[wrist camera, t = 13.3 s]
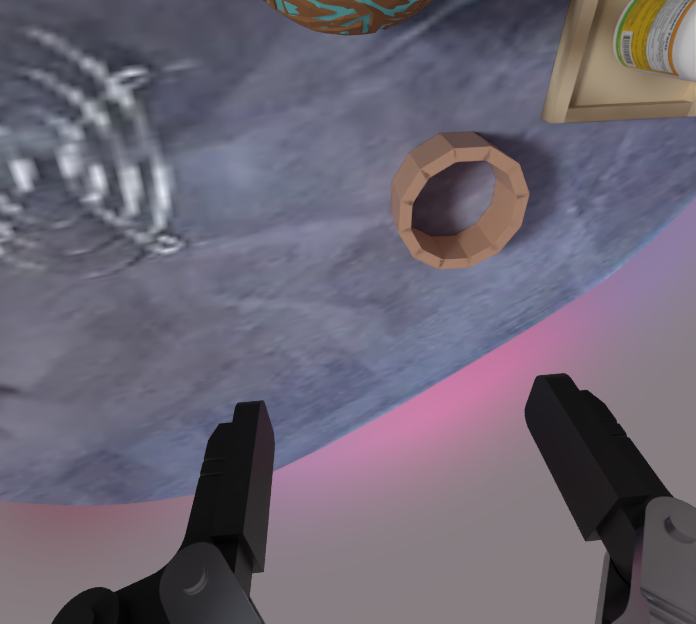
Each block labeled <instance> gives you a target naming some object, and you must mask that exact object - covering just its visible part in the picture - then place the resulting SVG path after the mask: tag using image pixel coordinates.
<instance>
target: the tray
mask: <svg viewBox="0 0 696 624" xmlns="http://www.w3.org/2000/svg"><path fill="white" fill-rule="evenodd" d="M630 1H631V0H570V4H569V8H568V12H567V16H566V20H565V24H564V28H563V32H562V36H561V40H560V44H559V48H558V52H557V56H556V60H555V64H554V68H553V72H552V76H551V81H550V85H549V89H548V93H547V97H546V101H545V105H544V109H543V113H542V117H541V119H543V120H545V121H547V122H550V123H569V122H589V121H608V120H628V119H648V118H667V117H687V116H696V82H693V81H687V80H682V79H677V78H671V77H666V76H661V75H655V74H650V73H644V72H639V71H634V70H630V69H627V68H625V67H623V66H622V65H621V64H620V63H619V62H618V61H617V59H616V57H615V55H614V51H613V37H614V31H615V28H616V25H617V22H618V20H619V18H620V16H621V14H622V12H623V10H624V9H625V7H626V6H627V5H628V3H629V2H630Z"/></svg>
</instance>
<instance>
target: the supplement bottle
mask: <svg viewBox="0 0 696 624" xmlns="http://www.w3.org/2000/svg"><path fill="white" fill-rule="evenodd" d="M613 51H614V55H615V57H616V59H617V61H618V62H619V63H620V64H621V65H622V66H623V67H625V68H627V69H630V70H634V71H639V72H644V73H650V74H655V75H661V76H666V77H671V78H677V79H682V80H687V81H693V82H696V0H631V1H630V2H629V3H628V5H627V6H626V7H625V9H624V10H623V12H622V14H621V16H620V18H619V20H618V22H617V25H616V28H615V31H614V37H613Z"/></svg>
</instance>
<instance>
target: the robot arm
mask: <svg viewBox="0 0 696 624" xmlns="http://www.w3.org/2000/svg"><path fill="white" fill-rule="evenodd" d="M525 419H526V423H527V426H528V428H529V431H530V433H531V434H532V436H533V439H534V441H535V443H536V444H537V446H538V448H539V450H540V452H541V454H542V456H543V458H544V460H545V462H546V464H547V466H548V468H549V470H550V472H551V474H552V476H553V478H554V480H555V482H556V484H557V486H558V488H559V490H560V492H561V494H562V496H563V498H564V500H565V502H566V504H567V506H568V508H569V510H570V512H571V514H572V516H573V518H574V520H575V522H576V524H577V526H578V527H579V530H580V532H581V534H582V536H583V538H584V540H585V541H595V540H602V542H603V544H604V546H605V547H606V549H607V551H606V553H605V556H604V562H603V569H602V576H601V584H600V590H599V597H598V605H597V612H596V619H595V624H696V508H695V507H693V506H692V505H690V504H688V503H686V502H684V501H682V500H679V499H676V498H674V497H673V496H672V495H671V494H670V492H669V491H668V490H667V489H666V488H665V486H664V485H663V483H662V482H661V481H660V479H659V478H658V476H657V475H656V474H655V472H654V471H653V470H652V468H651V467H650V465H649V464H648V463H647V461H646V460H645V458H644V457H643V456H642V454H641V453H640V452H639V450H638V449H637V448H636V446H635V445H634V443H633V442H632V441H631V439H630V438H628V437H627V435H626V432H625V431H624V430H623V428H622V427H621V425H620V424H618V423H617V420H616V419H615V417H614V416H613V414H612V413H611V412H610V410H609V409H608V408H607V406H606V405H605V404H604V403H603V402H602V401H601V400H599V399H598V398H597V397H596V396H594V395H593V394H592V393H590V392H589V391H588V390H581V391H580V390H579V389H578V388H577V386H576V385H575V383H574V382H573V380H572V379H571V378H570V377H569V375H567V374H565V373H561V374H549V375H539V376H537V377H536V378H535V381H534V383H533V386H532V389H531V392H530V395H529V398H528V400H527V403H526V406H525ZM274 451H275V441H274V432H273V428H272V425H271V422H270V418H269V415H268V412H267V409H266V405H265V402H264V401H263V400H262V401H251V402H240V403H237V404H236V407H235V411H234V416H233V421H232V422H231V423H221V424H219V425H218V426H217V428H216V429H215V431H214V432H213V434H212V435H211V437H210V438H209V440H208V443H207V447H206V452H205V456H204V462H203V464H202V468H201V472H200V478H199V480H198V485H197V489H196V493H195V497H194V501H193V505H192V509H191V514H190V518H189V522H188V526H187V530H186V534H185V537H184V540H183V542H182V545H181V547H180V548H179V550H178V552H177V553H176V554H175V556H174V557H173V558H172V559H171V560H170V561H169V563H168V564H166V565H165V566H164V567H163V568H162V569H160V570H159V571H158V572H156V573H154V574H152V575H150V576H148V577H146V578H144V579H142V580H140V581H138V582H135V583H133V584H131V585H129V586H127V587H124V588H122V589H121V590H118V591H116V592H112V591H111V590H110V589H107V588H103V587H95V588H91V589H88V590H86V591H83V592H82V593H80V594H78V595H77V596H75V597H74V598H73V599H71V600H70V601H69V602H68V603H67V604H66V605H65V606H64V607H63V608H62V609H61V610H60V612H59V613H58V614H57V616H56V617H55V618H54V620H53V622H52V624H265V622H264V620H263V618H262V617H261V615H260V613H259V611H258V610H257V608H256V606H255V604H254V603H253V601H252V599H251V597H250V588H251V579H252V573H260V572H264V563H265V553H266V542H267V530H268V519H269V506H270V496H271V485H272V474H273V462H274Z"/></svg>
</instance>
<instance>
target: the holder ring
mask: <svg viewBox="0 0 696 624" xmlns="http://www.w3.org/2000/svg"><path fill="white" fill-rule="evenodd" d="M483 160H486V161H488V162H489V163H491V165H492V168H493V171H494V173H495V176H496V184H495V189H494V194H493V199H492V203H491V205H490V206H489V207H488V209H487V210H486V211H485V212H484V214H483V215H482V216H481V218H480V219H479V220H478V222H477V223H476V224H474V225H472V226H470V227H468V228H467V229H465V230H463V231H461V232H459V233H458V234H456V235H449V236H430V235H428V234H426V233H424V232H422V231H420V230H418V229H416V228H414V227H412V225H411V219H412V205H413V202H414V201H415V199H416V198H417V196H418V194H419V193H420V191H421V190H422V188H423V187H424V185H425V184H426V182H427V181H428V179H429V178H430V177H432V176H434V175H435V174H437V173H439V172H440V171H442V170H444V169H445V168H447V167H449V166H450V165H452V164H453V163H455V162H464V161H483ZM528 198H529V191H528V188H527V185H526V182H525V179H524V176H523V173H522V170H521V167H520V164H519V163H518V162H516V161H515V160H514V159H512V158H511V157H510V156H508V155H507V154H506V153H505V152H503V151H502V150H501V149H499V148H498V147H496V146H495V145H493V144H492V143H490V142H489V141H487V140H485V139H484V138H482V137H481V136H479V135H478V134H476V133H474V132H454V133H439V134H438V135H436V136H434V137H433V138H431V139H430V140H428V141H427V142H425V143H423V144H422V145H420V146H419V147H417V148H415V149H414V150H412V151H411V152H409V154H408V156H407V157H406V159H405V161H404V162H403V164H402V166H401V167H400V169H399V171H398V172H397V174H396V176H395V177H394V179H393V181H392V196H391V213H392V216H393V218H394V221H395V224H396V227H397V230H398V232H399V234H400V236H401V238H402V239H403V241H404V243H405V244H406V246H407V248H408V249H409V251H410V253H411V254H412V256H413V257H414V258H416V259H418V260H420V261H422V262H424V263H426V264H429V265H431V266H433V267H435V268H437V269H453V268H469V267H471V266H473V265H475V264H477V263H479V262H481V261H483V260H485V259H487V258H489V257H491V256H493V255H495V254H497V253H499V252H500V251H501V249H502V248H503V247H504V246H505V245H506V244H507V242H508V241H509V240H510V239H511V238H512V236H513V235H514V234H515V233H516V232H517V230H518V229H519V228H520V227H521V225H522V221H523V217H524V213H525V210H526V206H527V202H528Z"/></svg>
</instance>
